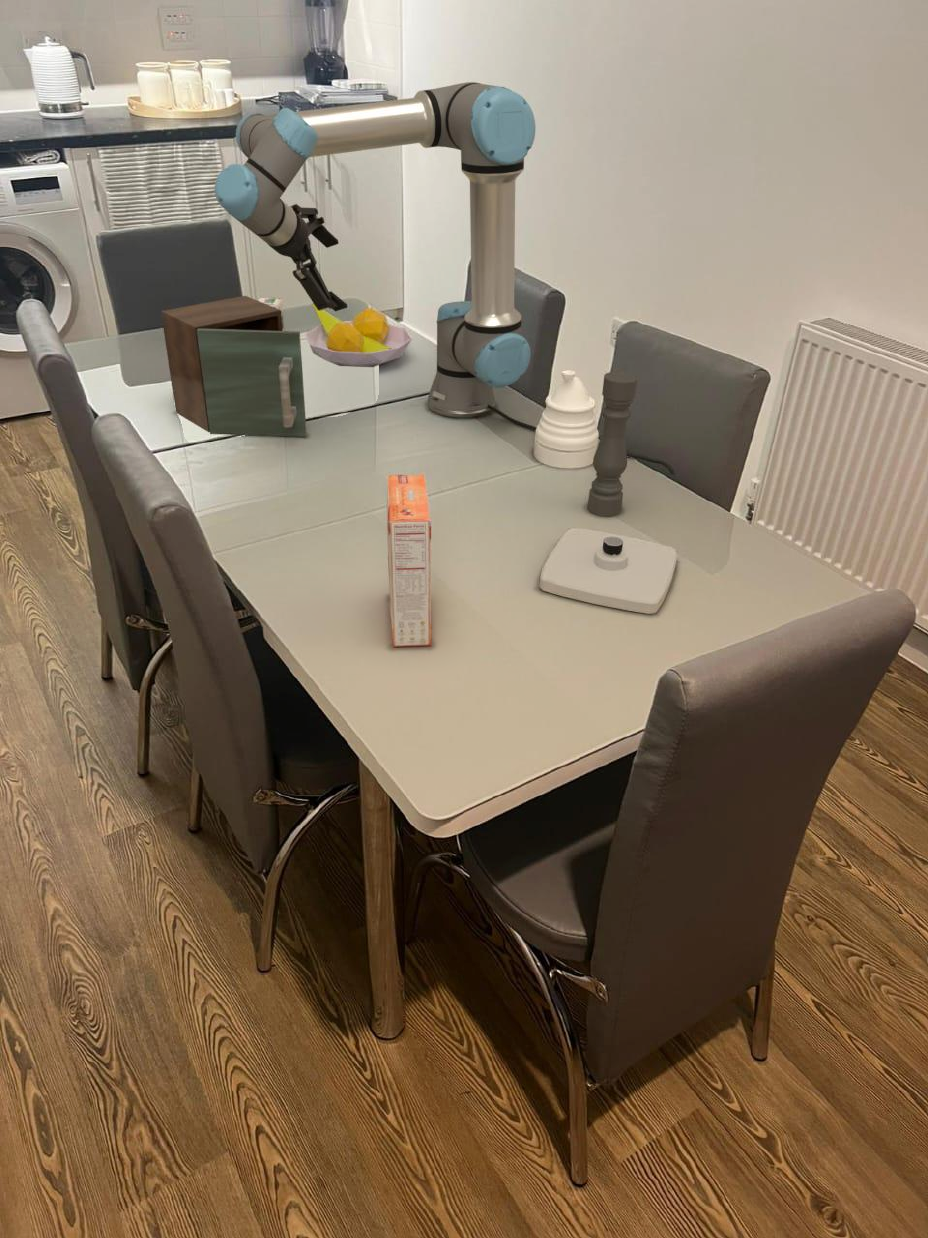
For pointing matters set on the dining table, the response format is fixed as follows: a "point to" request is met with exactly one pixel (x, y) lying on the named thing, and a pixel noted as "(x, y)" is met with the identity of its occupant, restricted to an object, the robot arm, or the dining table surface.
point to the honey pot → (567, 426)
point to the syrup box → (274, 305)
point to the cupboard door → (253, 382)
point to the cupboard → (186, 348)
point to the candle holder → (612, 445)
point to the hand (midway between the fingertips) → (336, 275)
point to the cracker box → (409, 559)
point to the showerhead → (609, 570)
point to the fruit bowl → (357, 339)
